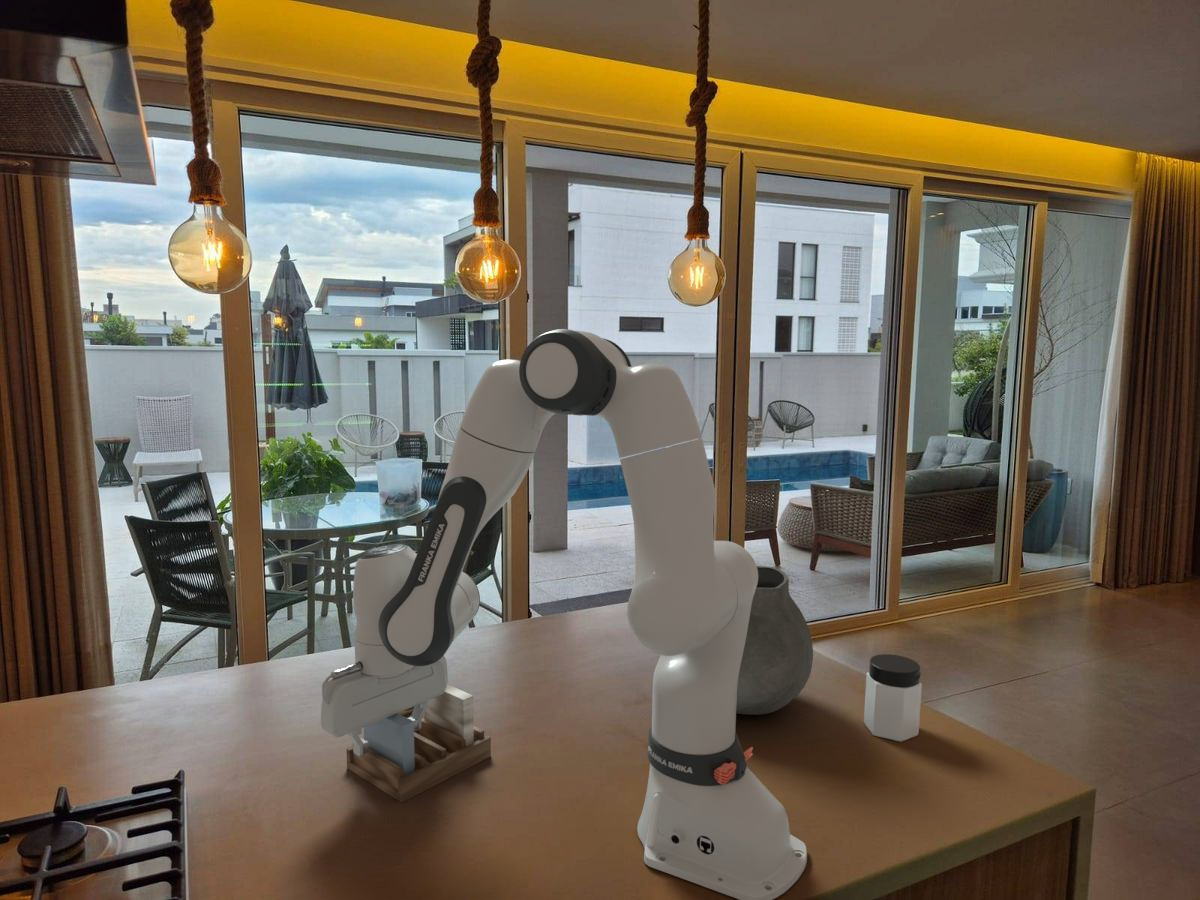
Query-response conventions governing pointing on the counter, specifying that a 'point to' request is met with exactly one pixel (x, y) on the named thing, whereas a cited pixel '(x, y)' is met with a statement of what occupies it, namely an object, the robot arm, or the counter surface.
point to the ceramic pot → (773, 648)
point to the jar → (893, 697)
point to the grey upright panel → (393, 740)
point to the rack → (430, 749)
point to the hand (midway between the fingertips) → (388, 740)
